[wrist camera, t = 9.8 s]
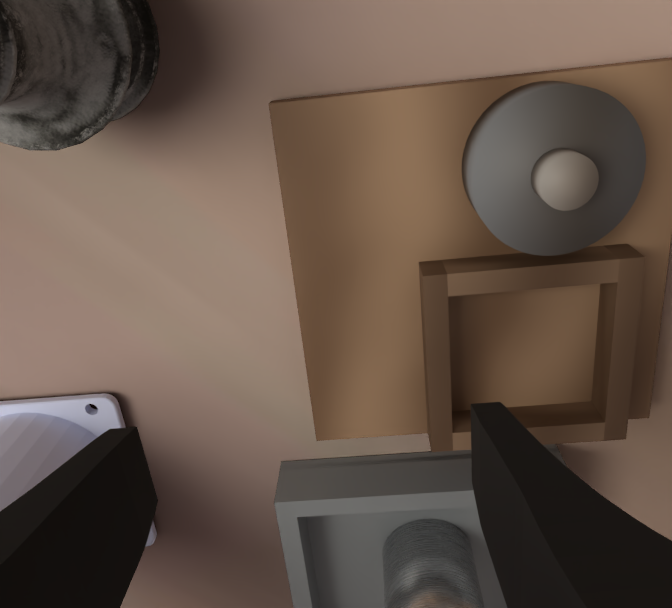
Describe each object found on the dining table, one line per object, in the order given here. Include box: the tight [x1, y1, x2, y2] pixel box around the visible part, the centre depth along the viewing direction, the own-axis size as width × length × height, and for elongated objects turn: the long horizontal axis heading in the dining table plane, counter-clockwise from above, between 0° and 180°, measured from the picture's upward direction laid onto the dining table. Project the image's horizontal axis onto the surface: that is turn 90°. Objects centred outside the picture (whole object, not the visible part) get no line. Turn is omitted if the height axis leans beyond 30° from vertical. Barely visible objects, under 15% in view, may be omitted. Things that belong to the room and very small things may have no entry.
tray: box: [274, 444, 567, 608], centre depth 27 cm, size 12×12×2 cm
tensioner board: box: [269, 58, 672, 452], centre depth 20 cm, size 13×13×4 cm
